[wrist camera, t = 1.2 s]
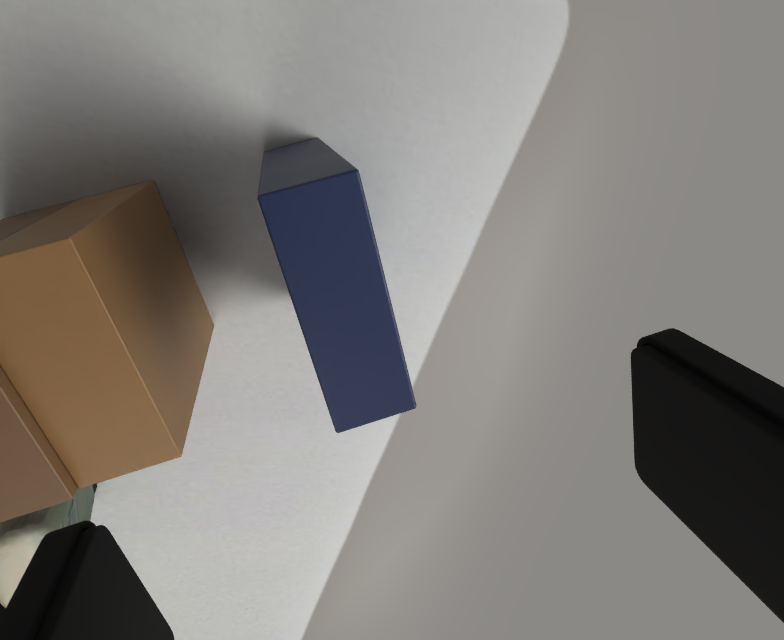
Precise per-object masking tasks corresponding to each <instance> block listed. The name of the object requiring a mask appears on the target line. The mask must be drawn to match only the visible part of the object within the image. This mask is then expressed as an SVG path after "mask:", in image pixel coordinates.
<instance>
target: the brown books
mask: <svg viewBox="0 0 784 640" xmlns="http://www.w3.org/2000/svg"><path fill="white" fill-rule="evenodd" d="M213 328H214V324H213V322H212V319H211V317H210V315H209V312H208V310H207V307H206V305H205V303H204V300H203V298H202V295H201V293H200V291H199V288H198V286H197V283H196V281H195V279H194V276H193V274H192V271H191V269H190V267H189V264H188V262H187V259H186V257H185V255H184V252H183V250H182V247H181V245H180V243H179V240H178V238H177V235H176V233H175V231H174V228H173V226H172V223H171V221H170V219H169V216H168V214H167V211H166V209H165V207H164V204H163V202H162V199H161V197H160V195H159V192H158V190H157V187H156V185H155V183H154V181H153V180H151V181H148V182H144V183H140V184H136V185H132V186H128V187H124V188H121V189H117V190H113V191H109V192H105V193H101V194H97V195H93V196H90V197H86V198H82V199H79V200H74V201H70V202H66V203H62V204H59V205H55V206H51V207H47V208H43V209H39V210H35V211H32V212H28V213H24V214H20V215H16V216H12V217H8V218H4V219H2V220H0V522H3V521H6V520H9V519H12V518H15V517H19V516H22V515H25V514H28V513H31V512H34V511H37V510H41V509H44V508H47V507H50V506H53V505H56V504H60V503H63V502H66V501H69V500H72V499H73V498H74V496H75V494H76V492H77V490H78V488H83V487H86V486H89V485H93V484H96V483H99V482H102V481H105V480H108V479H112V478H115V477H118V476H121V475H124V474H128V473H131V472H134V471H137V470H140V469H143V468H147V467H150V466H153V465H156V464H159V463H162V462H166V461H169V460H172V459H175V458H178V457H181V456H182V452H183V448H184V444H185V440H186V436H187V432H188V428H189V424H190V420H191V416H192V412H193V408H194V404H195V400H196V396H197V392H198V388H199V384H200V380H201V376H202V372H203V368H204V364H205V360H206V356H207V352H208V348H209V344H210V340H211V336H212V332H213Z"/></svg>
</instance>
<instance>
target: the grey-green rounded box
mask: <svg viewBox="0 0 784 640" xmlns="http://www.w3.org/2000/svg"><path fill="white" fill-rule="evenodd" d="M96 488H97V484H93V485H89V486H86V487H83V488H78V490H77V492H76V494H75V496H74V498H73V499H72V500H69V501H66V502H63V503H60V504H56V505H53V506H50V507H47V508H44V509H41V510H37V511H34V512H31V513H28V514H25V515H22V516H19V517H15V518H12V519H9V520H6V521H3V522H0V603H1V605H2V606H4V607H5V608H6V607H7V605H8V603H9V601H10V599H11V597H12V596H13V594H14V592H15V590H16V588H17V586H18V584H19V582H20V580H21V578H22V576H23V574H24V573H25V571H26V569H27V567H28V565H29V563H30V561H31V559H32V557H33V555H34V553H35V552H36V550H37V548H38V546H39V544H40V542H41V540H42V539H43V537H44V536H45V535H46V534H47V533H49V532H51V531H54V530H57V529H60V528H63V527H67V526H70V525H73V524H76V523H79V522H82V521H90V519H91V512H92V507H93V502H94V494H95V491H96Z"/></svg>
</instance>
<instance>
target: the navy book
mask: <svg viewBox="0 0 784 640" xmlns="http://www.w3.org/2000/svg"><path fill="white" fill-rule="evenodd" d="M258 201H259V204H260V207H261V210H262V213H263V216H264V219H265V222H266V225H267V228H268V231H269V234H270V237H271V240H272V243H273V246H274V249H275V252H276V255H277V258H278V261H279V264H280V267H281V270H282V273H283V276H284V279H285V282H286V285H287V288H288V291H289V294H290V296H291V299H292V302H293V305H294V308H295V311H296V314H297V317H298V320H299V323H300V326H301V329H302V332H303V335H304V338H305V341H306V344H307V347H308V350H309V353H310V356H311V359H312V362H313V365H314V368H315V371H316V374H317V377H318V380H319V383H320V386H321V389H322V392H323V395H324V398H325V401H326V404H327V407H328V410H329V413H330V416H331V419H332V422H333V425H334V428H335V431H336V432H337V433H340V432H343V431H346V430H349V429H352V428H355V427H358V426H362V425H365V424H368V423H371V422H374V421H377V420H380V419H384V418H387V417H390V416H393V415H396V414H399V413H402V412H405V411H409V410H411V409H415V408H416V402H415V399H414V395H413V390H412V386H411V382H410V378H409V374H408V370H407V366H406V362H405V357H404V353H403V349H402V345H401V341H400V337H399V333H398V329H397V325H396V321H395V317H394V313H393V309H392V304H391V300H390V296H389V292H388V288H387V284H386V280H385V276H384V272H383V268H382V264H381V260H380V256H379V251H378V247H377V243H376V239H375V235H374V231H373V227H372V223H371V219H370V215H369V211H368V207H367V203H366V198H365V194H364V190H363V186H362V182H361V178H360V174H359V171H358V170H357V169H356V168H355V167H354V166H352V165H351V164H350V163H349V162H348V161H346V160H345V159H344V158H343V157H341V156H340V155H339V154H338V153H336V152H335V151H334V150H333V149H331V148H330V147H329V146H328V145H326V144H325V143H324V142H323V141H321V140H320V139H319V138H314V139H310V140H306V141H303V142H299V143H295V144H291V145H287V146H283V147H279V148H275V149H272V150H268V151H264V154H263V161H262V169H261V176H260V183H259V191H258Z"/></svg>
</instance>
